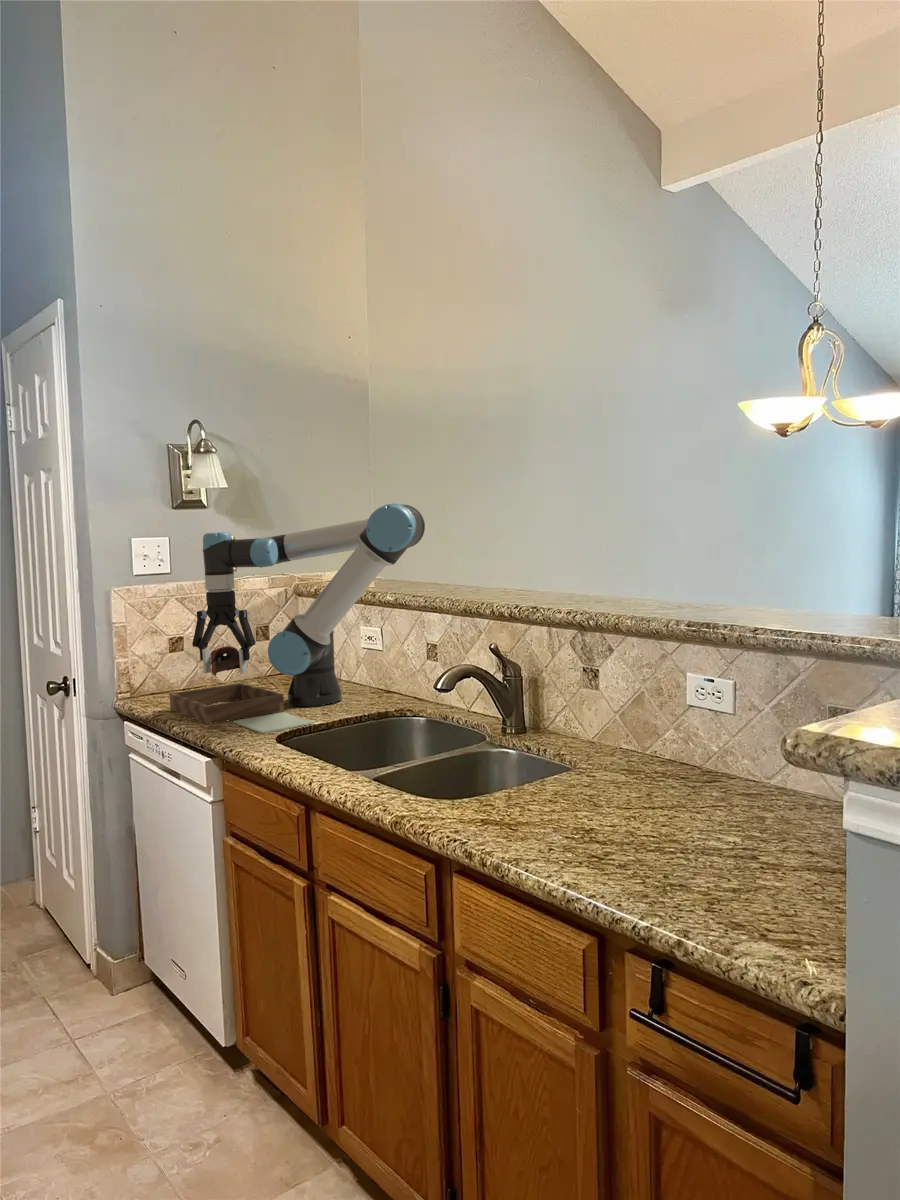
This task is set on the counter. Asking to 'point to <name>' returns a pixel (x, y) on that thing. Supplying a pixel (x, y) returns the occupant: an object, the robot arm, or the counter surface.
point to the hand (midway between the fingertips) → (225, 672)
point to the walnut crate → (252, 705)
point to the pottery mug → (224, 659)
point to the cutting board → (272, 722)
